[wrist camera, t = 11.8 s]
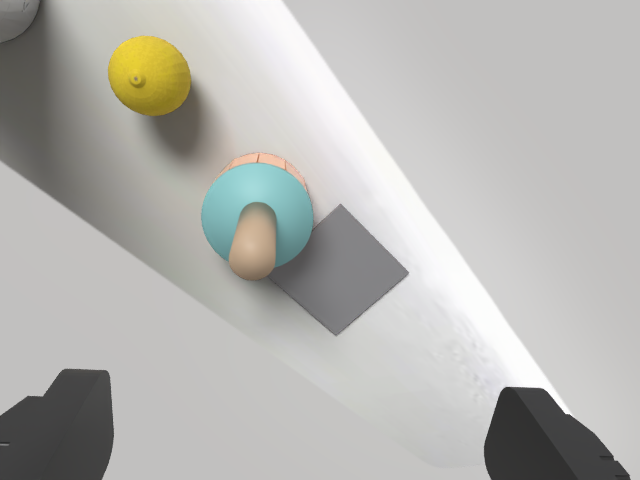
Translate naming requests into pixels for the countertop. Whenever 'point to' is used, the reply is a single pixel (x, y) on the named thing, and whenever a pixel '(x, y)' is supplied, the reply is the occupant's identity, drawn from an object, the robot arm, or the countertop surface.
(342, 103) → the countertop surface
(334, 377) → the countertop surface
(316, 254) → the mat
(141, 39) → the lemon
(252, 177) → the lid
